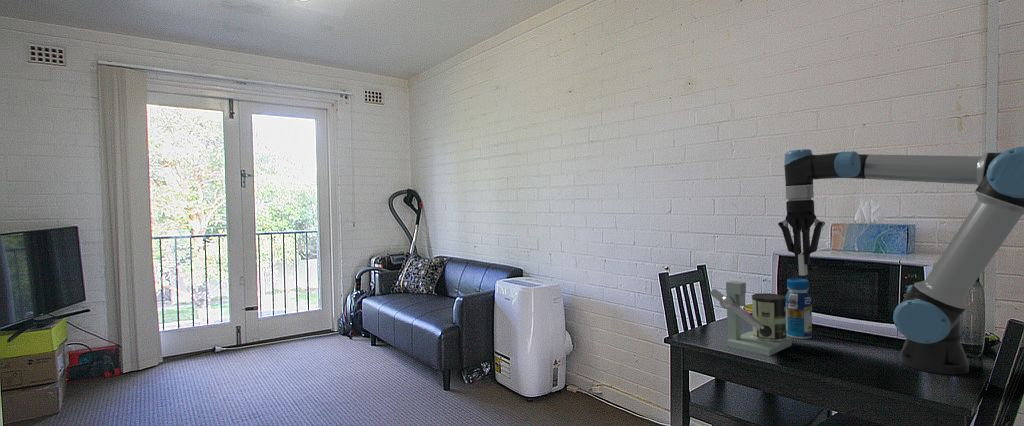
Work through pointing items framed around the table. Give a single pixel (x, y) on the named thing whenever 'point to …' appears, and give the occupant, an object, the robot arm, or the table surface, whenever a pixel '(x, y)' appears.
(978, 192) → the robot arm
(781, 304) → the coffee can
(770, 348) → the stand
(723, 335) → the table surface
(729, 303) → the lever
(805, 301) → the beverage bottle
